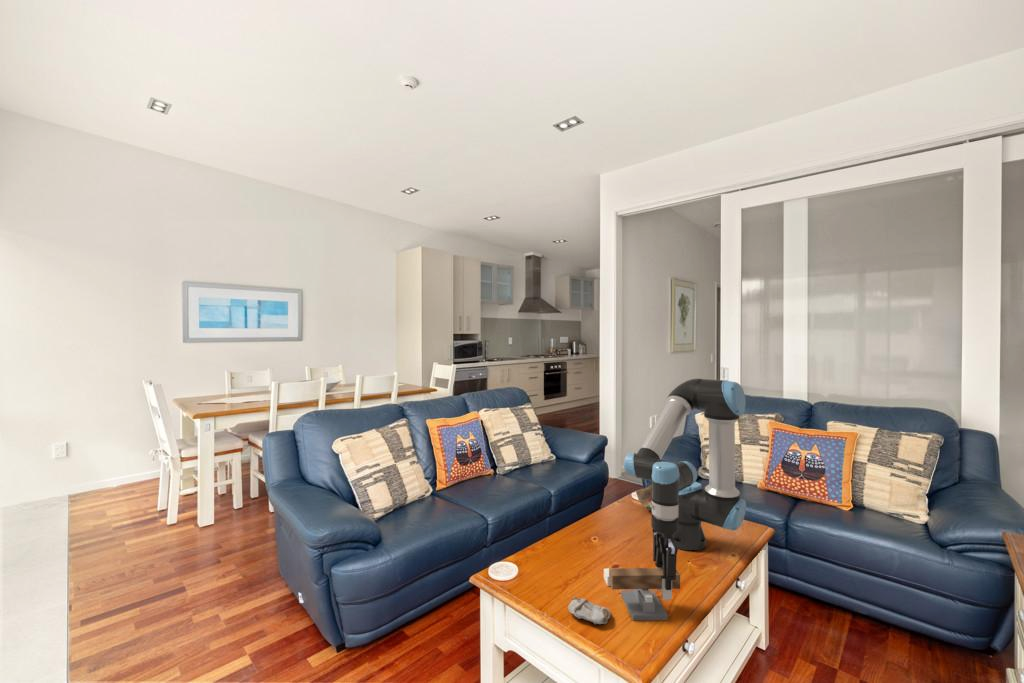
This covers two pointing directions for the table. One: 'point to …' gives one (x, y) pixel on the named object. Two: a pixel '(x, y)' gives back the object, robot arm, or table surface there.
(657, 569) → the bar
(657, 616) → the fulcrum
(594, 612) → the stone
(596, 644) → the table surface
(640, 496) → the rock
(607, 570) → the blocks
